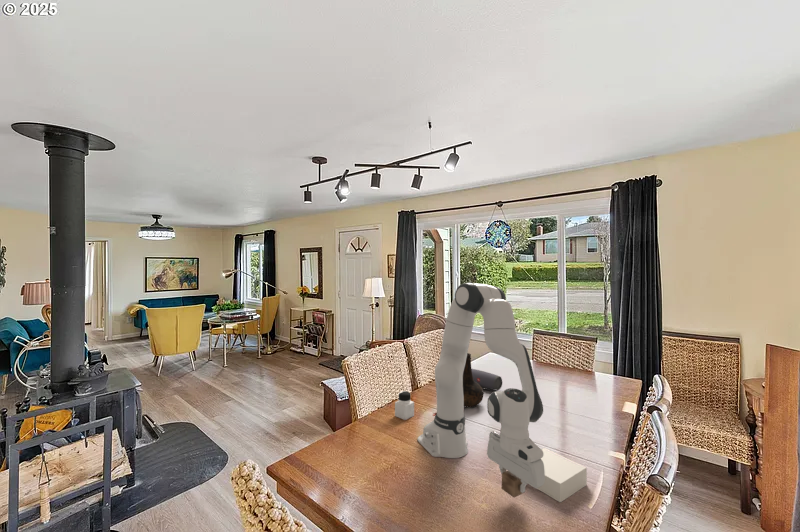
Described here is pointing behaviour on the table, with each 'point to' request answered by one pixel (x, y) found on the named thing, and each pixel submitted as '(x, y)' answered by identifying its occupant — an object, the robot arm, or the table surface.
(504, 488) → the walnut cube
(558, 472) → the plate
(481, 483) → the table surface
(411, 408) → the medicine bottle
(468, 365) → the glass bottle
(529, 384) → the robot arm
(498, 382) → the bluetooth speaker
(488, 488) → the table surface
